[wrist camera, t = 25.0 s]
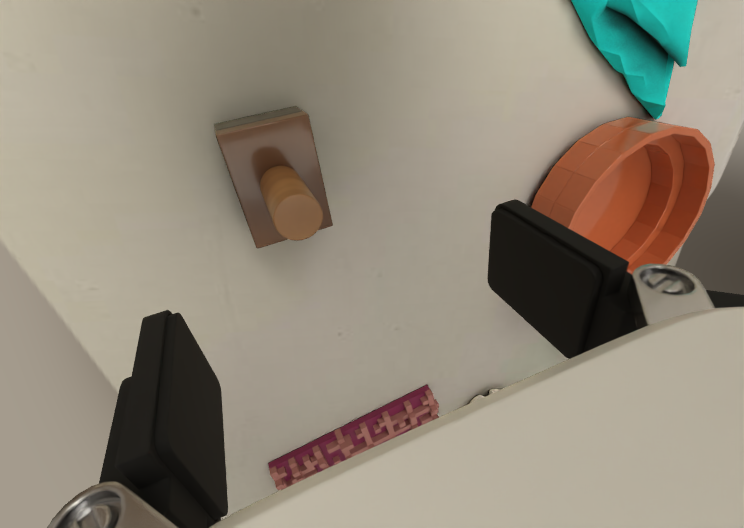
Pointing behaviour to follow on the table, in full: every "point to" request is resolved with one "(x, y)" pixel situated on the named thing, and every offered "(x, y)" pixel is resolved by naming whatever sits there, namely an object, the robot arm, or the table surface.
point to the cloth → (641, 41)
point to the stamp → (276, 174)
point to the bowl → (631, 188)
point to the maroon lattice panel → (355, 437)
